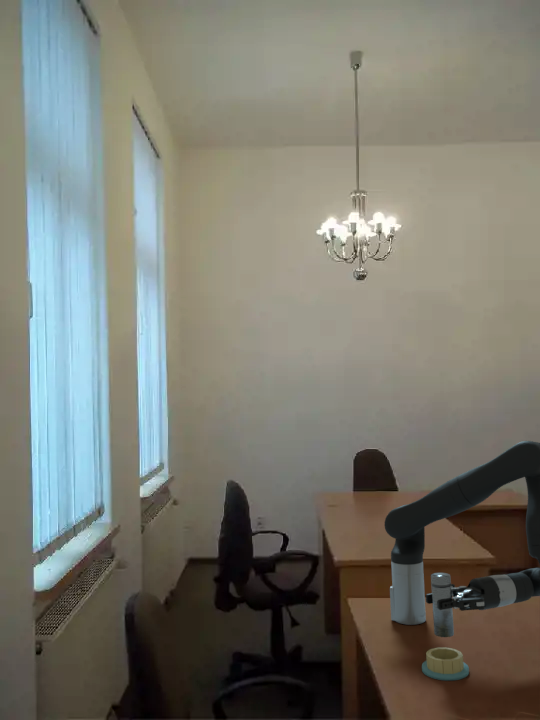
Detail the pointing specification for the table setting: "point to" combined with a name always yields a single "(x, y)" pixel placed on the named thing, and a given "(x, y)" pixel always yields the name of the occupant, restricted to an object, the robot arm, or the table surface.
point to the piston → (445, 616)
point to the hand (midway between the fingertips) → (432, 602)
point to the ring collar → (445, 664)
